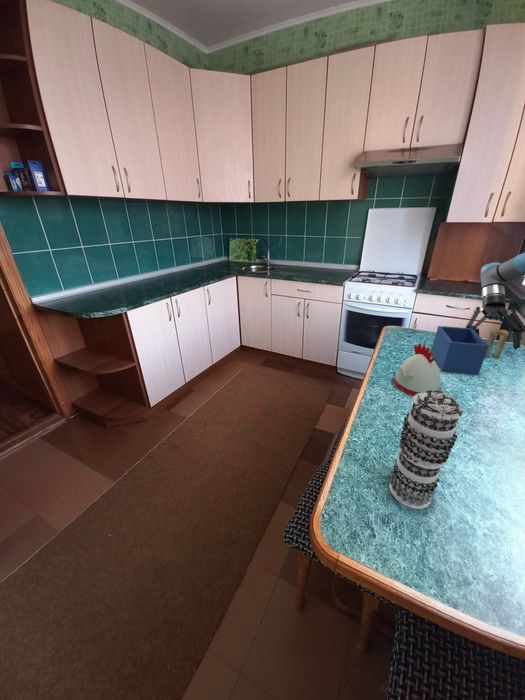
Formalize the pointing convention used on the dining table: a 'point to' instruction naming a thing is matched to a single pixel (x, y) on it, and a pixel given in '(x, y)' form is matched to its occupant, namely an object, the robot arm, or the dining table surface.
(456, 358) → the blue bin
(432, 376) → the kitchen timer
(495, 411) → the dining table surface
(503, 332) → the wood clip
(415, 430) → the decorative candle
